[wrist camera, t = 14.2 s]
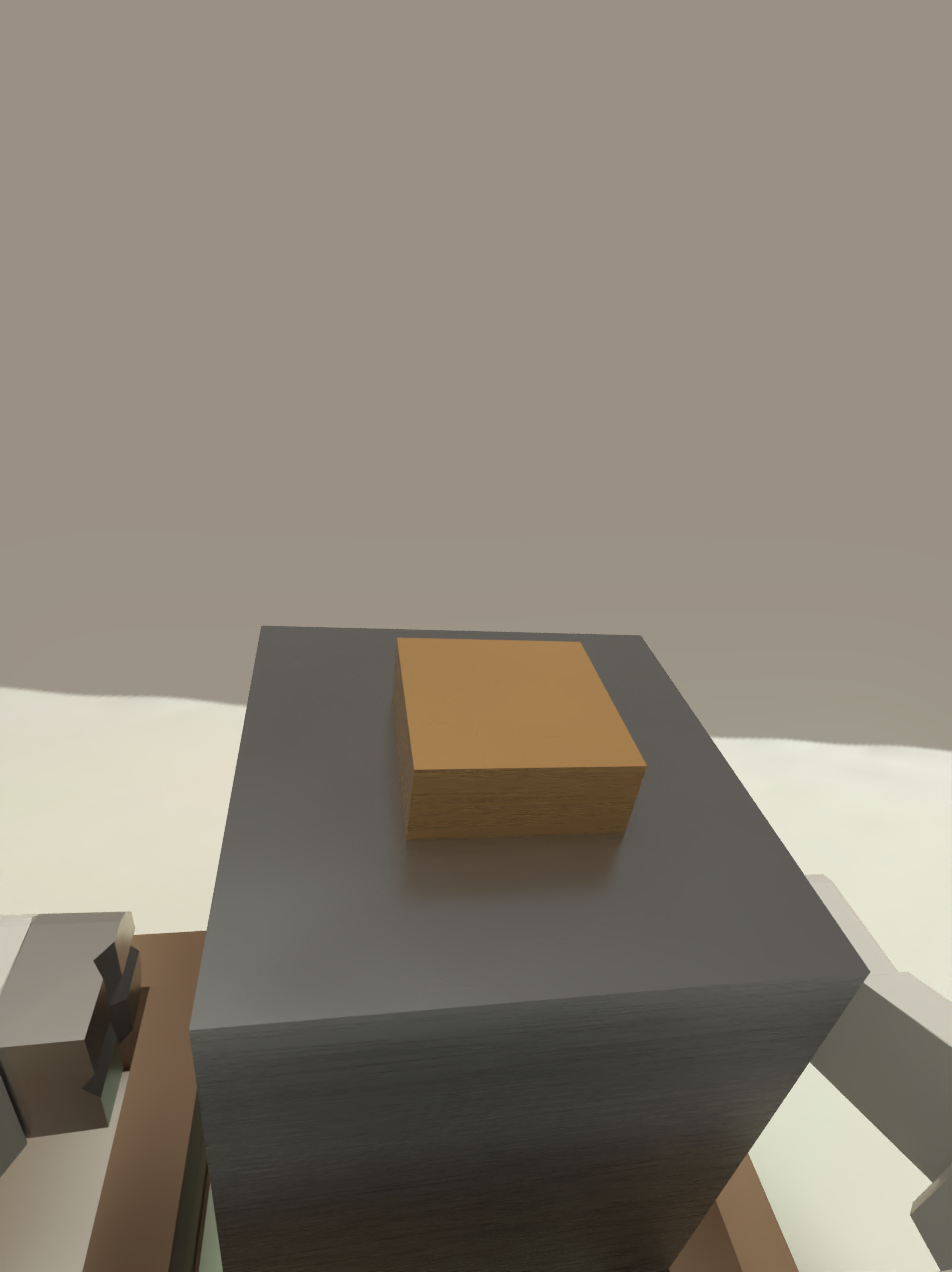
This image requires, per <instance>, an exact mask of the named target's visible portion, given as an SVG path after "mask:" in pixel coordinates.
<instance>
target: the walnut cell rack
mask: <svg viewBox="0 0 952 1272" xmlns="http://www.w3.org/2000/svg"><path fill="white" fill-rule="evenodd" d="M206 932H207V931H195V932H178V933H161V934H145V935H133V938H132V942H131V946H133V947H134V948H136V949H137V950H138V951H139V952H140V958H141V974H142V982H141V990H140V998H139V1006H138V1010H137V1014H136V1019H135V1023H134V1027H133V1030H132V1031H131V1033H130V1034H129V1035H128V1036H127V1037H126V1038H125V1039H124V1040H123V1041H122V1042H121V1043H120V1044H119V1048H120V1053H121V1058H122V1062H123V1067H124V1068H123V1072H122V1076H121V1080H120V1084H119V1088H118V1092H117V1096H116V1100H115V1104H114V1108H113V1112H112V1116H111V1120H110V1124H109V1127H108V1128H101V1129H93V1130H86V1131H79V1132H72V1133H64V1134H57V1135H50V1136H42V1137H35V1138H28V1139H26V1140H27V1145H26V1146H25V1148H24V1149H23V1150H22V1151H21V1152H20V1154H19V1155H18V1156H17V1157H16V1159H15V1160H14V1161H13V1162H12V1164H11V1165H10V1166H9V1167H8V1169H7V1170H6V1171H5V1172H4V1174H3V1175H2V1176H1V1177H0V1272H223V1268H222V1261H221V1254H220V1247H219V1240H218V1233H217V1226H216V1219H215V1211H214V1204H213V1197H212V1190H211V1183H210V1176H209V1169H208V1162H207V1155H206V1148H205V1141H204V1134H203V1127H202V1120H201V1113H200V1105H199V1098H198V1091H197V1084H196V1077H195V1070H194V1063H193V1056H192V1049H191V1042H190V1035H189V1027H190V1021H191V1016H192V1010H193V1005H194V999H195V993H196V988H197V982H198V977H199V971H200V966H201V960H202V954H203V949H204V943H205V938H206ZM667 1272H799V1271H798V1269H797V1267H796V1264H795V1262H794V1260H793V1257H792V1255H791V1253H790V1250H789V1248H788V1246H787V1243H786V1241H785V1239H784V1236H783V1234H782V1232H781V1229H780V1227H779V1224H778V1222H777V1220H776V1217H775V1215H774V1213H773V1210H772V1208H771V1206H770V1203H769V1201H768V1199H767V1196H766V1194H765V1192H764V1189H763V1187H762V1185H761V1182H760V1180H759V1178H758V1175H757V1173H756V1171H755V1168H754V1166H753V1164H752V1161H751V1159H750V1157H749V1154H748V1153H747V1155H746V1156H745V1158H744V1159H743V1161H742V1162H741V1164H740V1165H739V1167H738V1168H737V1169H736V1171H735V1172H734V1174H733V1175H732V1177H731V1178H730V1180H729V1181H728V1183H727V1184H726V1186H725V1187H724V1189H723V1190H722V1192H721V1193H720V1195H719V1196H718V1197H717V1199H716V1200H715V1202H714V1203H713V1205H712V1206H711V1208H710V1209H709V1211H708V1212H707V1214H706V1215H705V1217H704V1218H703V1220H702V1221H701V1223H700V1224H699V1225H698V1227H697V1228H696V1230H695V1231H694V1233H693V1234H692V1236H691V1237H690V1239H689V1240H688V1242H687V1243H686V1245H685V1246H684V1248H683V1249H682V1251H681V1252H680V1253H679V1255H678V1256H677V1258H676V1259H675V1261H674V1262H673V1264H672V1265H671V1267H670V1268H669V1270H668V1271H667Z"/></svg>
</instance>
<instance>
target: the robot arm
mask: <svg viewBox="0 0 952 1272" xmlns="http://www.w3.org/2000/svg"><path fill="white" fill-rule="evenodd" d="M805 877H806V878H807V880H808V881H809V882H810V884H811V885H812V887H813V888H814V890H815V891H816V893H817V894H818V896H819V897H820V899H821V900H822V901H823V903H824V904H825V906H826V907H827V909H828V910H829V912H830V913H831V915H832V916H833V918H834V919H835V920H836V922H837V923H838V925H839V926H840V928H841V929H842V931H843V932H844V934H845V935H846V937H847V938H848V940H849V941H850V942H851V944H852V945H853V947H854V948H855V950H856V951H857V953H858V954H859V956H860V957H861V959H862V960H863V961H864V963H865V964H866V966H867V967H868V969H869V970H870V973H869V975H868V976H867V978H866V979H865V981H864V982H863V984H862V985H861V987H860V988H859V990H858V991H857V993H856V994H855V996H854V997H853V999H852V1000H851V1001H850V1003H849V1004H848V1006H847V1007H846V1009H845V1010H844V1012H843V1013H842V1015H841V1016H840V1018H839V1019H838V1021H837V1022H836V1024H835V1025H834V1027H833V1028H832V1029H831V1031H830V1032H829V1034H828V1035H827V1037H826V1038H825V1040H824V1041H823V1043H822V1044H821V1046H820V1047H819V1049H818V1050H817V1052H816V1053H815V1055H814V1056H813V1057H812V1059H811V1060H810V1063H811V1064H812V1065H813V1066H814V1067H815V1068H816V1069H817V1070H818V1071H819V1072H821V1073H822V1074H823V1075H824V1076H825V1077H826V1078H827V1079H828V1080H829V1081H830V1082H831V1083H832V1084H833V1085H834V1086H835V1087H836V1088H837V1089H838V1090H839V1091H840V1092H841V1093H842V1094H843V1095H844V1096H845V1097H846V1098H847V1099H848V1100H849V1101H850V1102H851V1103H852V1104H853V1105H854V1106H855V1107H856V1108H857V1109H858V1110H859V1111H860V1112H861V1113H862V1114H863V1115H864V1116H865V1117H866V1118H867V1119H868V1120H869V1121H871V1122H872V1123H873V1124H874V1125H875V1126H876V1127H877V1128H878V1129H879V1130H880V1131H881V1132H882V1133H883V1134H884V1135H885V1136H886V1137H887V1138H888V1139H889V1140H890V1141H891V1142H892V1143H893V1144H894V1145H895V1146H896V1147H897V1148H898V1149H899V1150H900V1151H901V1152H902V1153H903V1154H904V1155H905V1156H906V1157H907V1158H908V1159H909V1160H910V1161H911V1162H912V1163H913V1164H914V1165H915V1166H916V1167H917V1168H918V1169H920V1170H921V1171H922V1172H923V1173H924V1174H925V1175H926V1176H927V1177H928V1178H929V1179H930V1180H931V1181H932V1182H933V1183H932V1184H931V1185H930V1186H929V1187H928V1188H927V1189H926V1190H925V1191H924V1192H923V1193H922V1194H921V1195H920V1196H919V1197H918V1198H917V1199H916V1200H915V1201H914V1202H913V1204H912V1209H911V1214H910V1216H911V1218H912V1219H913V1221H914V1223H915V1225H916V1227H917V1229H918V1230H919V1232H920V1234H921V1236H922V1238H923V1239H924V1241H925V1243H926V1245H927V1247H928V1249H929V1250H930V1252H931V1254H932V1256H933V1258H934V1259H935V1261H936V1263H937V1265H938V1267H939V1268H940V1270H941V1271H940V1272H952V1002H951V1001H949V1000H948V999H946V998H945V997H943V996H942V995H940V994H939V993H937V992H936V991H935V990H933V989H932V988H930V987H929V986H927V985H926V984H924V983H923V982H921V981H920V980H918V979H917V978H916V977H914V976H913V975H911V974H910V973H908V972H898V971H897V970H896V968H895V967H894V966H893V964H892V963H891V962H890V960H889V959H888V957H887V956H886V955H885V953H884V952H883V951H882V949H881V948H880V946H879V945H878V944H877V942H876V941H875V939H874V938H873V937H872V935H871V934H870V933H869V931H868V930H867V928H866V927H865V926H864V924H863V923H862V922H861V920H860V919H859V917H858V916H857V915H856V913H855V912H854V911H853V909H852V908H851V906H850V905H849V904H848V902H847V901H846V900H845V898H844V897H843V895H842V894H841V893H840V891H839V890H838V889H837V887H836V886H835V884H834V883H833V882H832V881H831V880H830V879H828V878H827V877H826V876H824V875H823V874H812V875H805ZM134 931H135V926H134V921H133V917H132V913H131V912H96V913H61V914H28V915H6V916H0V1177H1V1176H2V1175H3V1174H4V1172H5V1171H6V1170H7V1169H8V1167H9V1166H10V1165H11V1164H12V1162H13V1161H14V1160H15V1159H16V1157H17V1156H18V1155H19V1154H20V1152H21V1151H22V1150H23V1149H24V1148H25V1146H26V1145H27V1140H26V1139H28V1138H35V1137H42V1136H50V1135H57V1134H64V1133H72V1132H79V1131H86V1130H93V1129H101V1128H108V1127H109V1124H110V1120H111V1116H112V1112H113V1108H114V1104H115V1100H116V1096H117V1092H118V1088H119V1084H120V1080H121V1076H122V1072H123V1068H124V1067H123V1062H122V1058H121V1053H120V1048H119V1044H120V1043H121V1042H122V1041H123V1040H124V1039H125V1038H126V1037H127V1036H128V1035H129V1034H130V1033H131V1031H132V1030H133V1027H134V1023H135V1019H136V1014H137V1010H138V1006H139V998H140V990H141V982H142V974H141V958H140V952H139V951H138V950H137V949H136V948H134V947H133V946H131V942H132V938H133V935H134Z"/></svg>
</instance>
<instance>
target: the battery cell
mask: <svg viewBox="0 0 952 1272" xmlns="http://www.w3.org/2000/svg"><path fill="white" fill-rule="evenodd" d="M869 973H870V970H869V969H868V967H867V966H866V964H865V963H864V961H863V960H862V959H861V957H860V956H859V954H858V953H857V951H856V950H855V948H854V947H853V945H852V944H851V942H850V941H849V940H848V938H847V937H846V935H845V934H844V932H843V931H842V929H841V928H840V926H839V925H838V923H837V922H836V920H835V919H834V918H833V916H832V915H831V913H830V912H829V910H828V909H827V907H826V906H825V904H824V903H823V901H822V900H821V899H820V897H819V896H818V894H817V893H816V891H815V890H814V888H813V887H812V885H811V884H810V882H809V881H808V880H807V878H806V877H805V875H804V874H803V872H802V871H801V869H800V868H799V866H798V865H797V863H796V862H795V860H794V859H793V858H792V856H791V855H790V853H789V852H788V850H787V849H786V847H785V846H784V844H783V843H782V841H781V840H780V839H779V837H778V836H777V834H776V833H775V831H774V830H773V828H772V827H771V825H770V824H769V822H768V821H767V820H766V818H765V817H764V815H763V814H762V812H761V811H760V809H759V808H758V806H757V805H756V803H755V802H754V801H753V799H752V798H751V796H750V795H749V793H748V792H747V790H746V789H745V787H744V786H743V784H742V783H741V781H740V780H739V779H738V777H737V776H736V774H735V773H734V771H733V770H732V768H731V767H730V765H729V764H728V762H727V761H726V760H725V758H724V757H723V755H722V754H721V752H720V751H719V749H718V748H717V746H716V745H715V743H714V742H713V741H712V739H711V738H710V736H709V735H708V733H707V732H706V730H705V729H704V727H703V726H702V725H701V723H700V722H699V720H698V719H697V717H696V716H695V714H694V713H693V711H692V710H691V708H690V707H689V705H688V704H687V703H686V701H685V700H684V698H683V697H682V695H681V694H680V692H679V691H678V689H677V688H676V686H675V685H674V683H673V682H672V681H671V679H670V678H669V676H668V675H667V673H666V672H665V670H664V669H663V667H662V666H661V664H660V663H659V662H658V660H657V659H656V657H655V656H654V654H653V653H652V651H651V650H650V648H649V647H648V646H647V644H646V642H645V641H644V640H643V638H642V637H641V636H638V635H600V634H598V635H597V634H559V633H522V632H521V633H520V632H482V631H481V632H480V631H444V630H403V629H366V628H365V629H363V628H327V627H326V628H325V627H288V626H261V631H260V637H259V642H258V648H257V654H256V659H255V665H254V671H253V676H252V681H251V687H250V693H249V698H248V704H247V709H246V715H245V720H244V726H243V731H242V737H241V743H240V748H239V754H238V759H237V765H236V770H235V776H234V782H233V787H232V793H231V798H230V804H229V809H228V815H227V821H226V826H225V832H224V837H223V843H222V848H221V854H220V860H219V865H218V871H217V876H216V882H215V888H214V893H213V899H212V904H211V910H210V915H209V921H208V927H207V932H206V938H205V943H204V949H203V954H202V960H201V966H200V971H199V977H198V982H197V988H196V993H195V999H194V1005H193V1010H192V1016H191V1021H190V1027H189V1035H190V1042H191V1049H192V1056H193V1063H194V1070H195V1077H196V1084H197V1091H198V1098H199V1105H200V1113H201V1120H202V1127H203V1134H204V1141H205V1148H206V1155H207V1162H208V1169H209V1176H210V1183H211V1190H212V1197H213V1204H214V1211H215V1219H216V1226H217V1233H218V1240H219V1247H220V1254H221V1261H222V1268H223V1272H667V1271H668V1270H669V1268H670V1267H671V1265H672V1264H673V1262H674V1261H675V1259H676V1258H677V1256H678V1255H679V1253H680V1252H681V1251H682V1249H683V1248H684V1246H685V1245H686V1243H687V1242H688V1240H689V1239H690V1237H691V1236H692V1234H693V1233H694V1231H695V1230H696V1228H697V1227H698V1225H699V1224H700V1223H701V1221H702V1220H703V1218H704V1217H705V1215H706V1214H707V1212H708V1211H709V1209H710V1208H711V1206H712V1205H713V1203H714V1202H715V1200H716V1199H717V1197H718V1196H719V1195H720V1193H721V1192H722V1190H723V1189H724V1187H725V1186H726V1184H727V1183H728V1181H729V1180H730V1178H731V1177H732V1175H733V1174H734V1172H735V1171H736V1169H737V1168H738V1167H739V1165H740V1164H741V1162H742V1161H743V1159H744V1158H745V1156H746V1155H747V1153H748V1152H749V1150H750V1149H751V1147H752V1146H753V1144H754V1143H755V1141H756V1140H757V1139H758V1137H759V1136H760V1134H761V1133H762V1131H763V1130H764V1128H765V1127H766V1125H767V1124H768V1122H769V1121H770V1119H771V1118H772V1116H773V1115H774V1113H775V1112H776V1111H777V1109H778V1108H779V1106H780V1105H781V1103H782V1102H783V1100H784V1099H785V1097H786V1096H787V1094H788V1093H789V1091H790V1090H791V1088H792V1087H793V1085H794V1084H795V1083H796V1081H797V1080H798V1078H799V1077H800V1075H801V1074H802V1072H803V1071H804V1069H805V1068H806V1066H807V1065H808V1063H809V1062H810V1060H811V1059H812V1057H813V1056H814V1055H815V1053H816V1052H817V1050H818V1049H819V1047H820V1046H821V1044H822V1043H823V1041H824V1040H825V1038H826V1037H827V1035H828V1034H829V1032H830V1031H831V1029H832V1028H833V1027H834V1025H835V1024H836V1022H837V1021H838V1019H839V1018H840V1016H841V1015H842V1013H843V1012H844V1010H845V1009H846V1007H847V1006H848V1004H849V1003H850V1001H851V1000H852V999H853V997H854V996H855V994H856V993H857V991H858V990H859V988H860V987H861V985H862V984H863V982H864V981H865V979H866V978H867V976H868V975H869Z"/></svg>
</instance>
